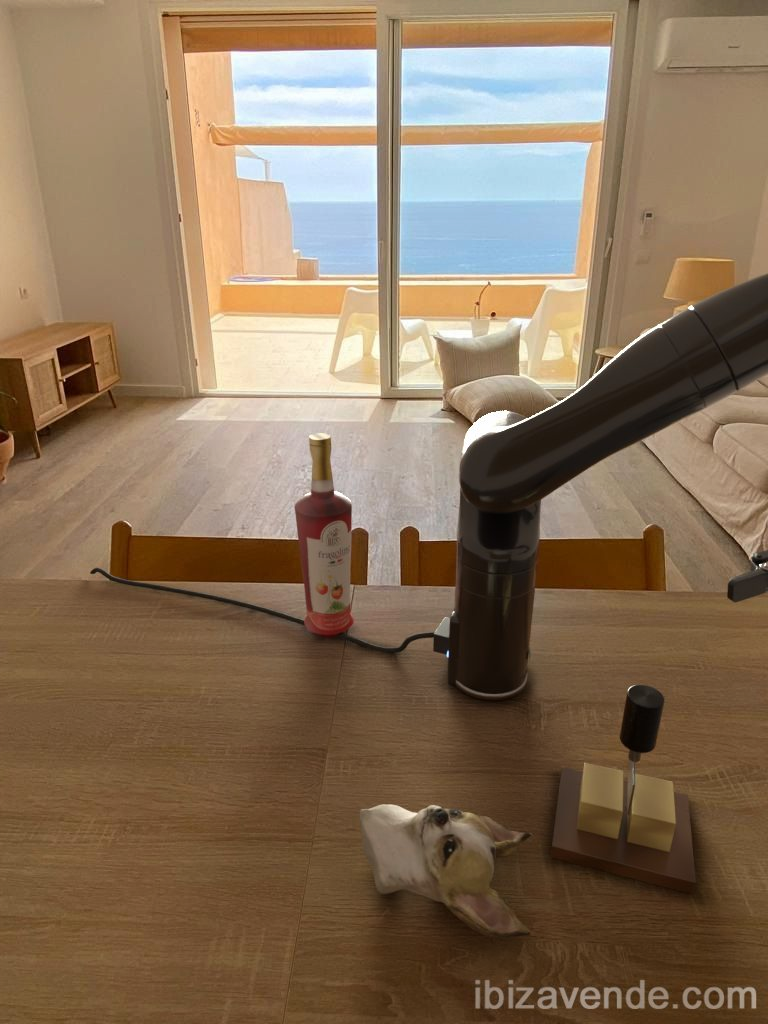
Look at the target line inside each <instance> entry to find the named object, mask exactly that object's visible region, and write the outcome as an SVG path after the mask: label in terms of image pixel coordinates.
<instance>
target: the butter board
mask: <svg viewBox="0 0 768 1024" xmlns="http://www.w3.org/2000/svg"><path fill="white" fill-rule="evenodd" d="M627 789H628V780H624V771H623V770H620V769H615V768H610V767H606V766H601V765H597V764H594V763H593V764H592V763H588V762H584V763H583V769H582V770H578V769H573V768H569V767H565V766H561V772H560V777H559V786H558V794H557V801H556V809H555V817H554V826H553V834H552V841H551V842H552V843H551V850H550V858H551V859H555V860H559V861H562V862H566V863H571V864H574V865H578V866H581V867H585V868H590V869H593V870H597V871H601V872H604V873H609V874H613V875H617V876H621V877H623V878H628V879H631V880H636V881H640V882H644V883H647V884H652V885H654V886H655V885H656V886H659V887H662V888H666V889H670V890H675V891H679V892H681V893H682V892H683V893H685V894H690V895H694V891H695V889H696V888H695V887H696V885H697V881H696V880H697V879H696V870H695V868H696V867H695V858H694V848H693V847H694V846H693V837H692V825H691V815H690V804H689V802H690V801H689V795H688V794H686V793H683V792H677V791H675V789H674V781H670V780H666V779H661V778H657V777H653V776H649V775H643V774H638V773H635V789H634V795H633V800H632V805H631V810H630V815H628V814H627Z"/></svg>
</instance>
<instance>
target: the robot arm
mask: <svg viewBox="0 0 768 1024" xmlns="http://www.w3.org/2000/svg"><path fill="white" fill-rule="evenodd" d="M766 376H768V273H764V274H761V275H758V276H756V277H752V278H750V279H748V280H746V281H743V282H740V283H738V284H735V285H733V286H730V287H727V288H725V289H723V290H720V291H718V292H716V293H714V294H711V295H710V296H708V297H705V298H703V299H701V300H699V301H697V302H695V303H694V304H692V305H690V306H689V307H686V308H685V309H683V310H681V311H679V312H678V313H676V314H674V315H672V316H671V317H670V318H668V319H666V320H664V321H663V322H661V323H659V324H657V325H656V326H654V327H652V328H651V329H649V330H647V331H646V332H645V333H643V334H642V335H640V336H639V337H637V338H636V339H635V340H634V341H632V342H631V343H630V344H628V345H627V346H626V347H625V348H623V349H622V350H621V351H620V352H619V353H617V355H615V356H614V357H613V358H612V359H610V361H609V362H608V363H606V364H605V365H604V366H603V367H602V368H601V369H600V370H599V371H598V372H597V373H595V374H594V376H592V377H591V378H590V379H589V380H588V381H587V382H586V383H585V384H584V385H582V386H581V387H580V388H578V389H577V390H576V391H574V393H571V394H570V395H569V396H567V397H566V398H564V399H563V400H561V401H559V402H557V403H556V404H554V405H553V406H551V407H548V408H546V409H545V410H543V411H540V412H539V413H536V414H535V415H532V416H531V417H529V418H528V417H526V416H524V415H522V414H521V413H517V412H513V411H507V410H504V411H503V410H502V411H501V410H500V411H496V412H491V413H488V414H486V415H484V416H482V417H481V418H479V419H478V420H477V421H476V422H474V423H473V425H472V426H471V427H470V428H469V429H468V431H467V432H466V433H465V436H464V438H463V442H462V444H461V451H460V455H459V461H458V462H459V463H458V484H459V504H458V505H459V506H458V515H457V516H458V517H457V529H456V530H457V531H456V532H457V533H456V556H455V557H456V558H455V559H456V560H455V580H454V581H455V582H454V583H455V584H454V605H453V607H454V608H453V609H452V613H451V615H450V617H447V616H444V618H443V619H442V621H441V622H440V624H439V625H438V626H437V628H436V630H434V631H428V632H427V631H426V632H418V633H414V634H412V635H409V636H407V637H406V638H405V639H404V640H403V641H402V643H401V644H400V645H399V646H394V647H386V646H385V647H384V646H380V645H377V644H373V643H370V642H367V641H365V640H362V639H360V638H358V637H354V636H352V635H349V634H346V633H344V632H343V633H340V634H337V635H335V637H334V638H339V639H342V640H344V641H348V642H350V643H353V644H356V645H358V646H361V647H364V648H366V649H371V650H374V651H379V652H381V653H382V652H383V653H388V654H395V653H397V654H398V653H402V652H403V651H404V650H406V648H407V647H408V645H409V644H410V643H412V642H414V641H416V640H417V641H418V640H421V639H430V638H431V639H433V643H432V644H433V645H432V646H433V647H432V651H433V652H434V653H439V654H443V655H446V657H447V680H446V681H447V682H446V683H447V684H448V685H450V686H454V687H456V688H457V689H458V690H460V691H461V692H462V693H464V694H466V695H467V696H470V697H472V698H475V699H478V700H483V701H505V700H509V699H511V698H514V697H516V696H517V695H519V694H521V693H522V692H523V690H524V689H525V688H526V687H527V683H528V670H529V659H531V635H532V625H533V614H534V603H535V593H536V584H537V583H536V582H537V572H538V561H539V553H540V540H541V536H540V535H541V509H542V506H541V505H542V500H544V498H546V497H547V496H549V495H551V494H552V493H554V492H555V491H557V490H558V489H559V488H561V487H563V486H564V485H566V484H567V483H569V482H570V481H572V480H573V479H575V478H576V477H578V476H580V475H581V474H582V473H584V472H585V471H587V470H589V469H590V468H592V467H593V466H595V465H597V464H598V463H600V462H602V461H604V460H606V459H607V458H609V457H611V456H613V455H615V454H617V453H618V452H621V451H623V450H625V449H627V448H629V447H631V446H633V445H635V444H637V443H639V442H642V441H644V440H645V439H647V438H650V437H651V436H653V435H655V434H658V433H659V432H661V431H664V430H665V429H667V428H668V427H670V426H673V425H674V424H676V423H679V422H680V421H682V420H685V419H686V418H689V417H691V416H693V415H696V414H697V413H699V412H702V411H703V410H706V409H707V408H709V407H711V406H713V405H715V404H716V403H719V402H721V401H722V400H725V399H727V398H728V397H730V396H733V395H734V394H736V393H737V392H740V391H742V390H743V389H745V388H747V387H749V386H750V385H752V384H754V383H755V382H757V381H759V380H761V379H762V378H764V377H766ZM89 573H90V574H91V575H95V574H96V573H99V574H101V575H102V576H103V577H104V578H107V579H108V580H110V581H112V582H114V583H118V584H123V585H126V586H133V587H139V588H146V589H150V590H151V589H153V590H158V591H163V592H169V593H175V594H180V595H187V596H190V597H191V596H192V597H197V598H202V599H207V600H211V601H215V602H216V601H217V602H221V603H226V604H229V605H234V606H237V607H242V608H246V609H249V610H253V611H257V612H260V613H264V614H268V615H271V616H274V617H277V618H280V619H284V620H286V621H290V622H293V623H296V624H298V625H301V626H304V627H306V626H305V624H304V620H305V619H303V618H299V617H296V616H293V615H290V614H288V613H287V614H286V613H284V612H281V611H278V610H274V609H270V608H268V607H264V606H261V605H256V604H252V603H249V602H245V601H240V600H237V599H232V598H228V597H225V596H219V595H214V594H209V593H206V592H205V593H204V592H201V591H200V592H199V591H195V590H189V589H182V588H178V587H177V588H176V587H172V586H167V585H166V586H165V585H160V584H154V583H149V582H141V581H134V580H128V579H124V578H120V577H117V576H114V575H112V574H110V573H109V572H107V571H106V570H105V569H103V568H101V567H94V568H92V569H91V571H90V572H89ZM767 592H768V549H766V550H762V551H758V552H754V553H752V554H751V559H750V570H749V571H747V572H745V573H742V574H738V575H735V576H732V577H731V578H729V581H728V583H727V594H726V597H727V599H728V600H730V601H731V602H733V603H739V602H742V601H746V600H748V599H751V598H754V597H757V596H761V595H764V594H766V593H767Z"/></svg>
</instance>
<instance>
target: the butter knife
mask: <svg viewBox="0 0 768 1024" xmlns="http://www.w3.org/2000/svg"><path fill="white" fill-rule="evenodd" d="M664 706H665V697H664V695H663V693H662V692H661V691H660V690H658V689H657V688H655V687H653V686H650V685H646V684H635V685H632V686H630V687H629V688H628V689H627V691H626V697H625V703H624V707H623V714H622V719H621V725H620V732H619V740H620V742H621V744H622V745H623V746H624V748H626V749H628V756H627V757H628V759H627V781H628V789H627V814H628V815H630V810H631V805H632V800H633V795H634V789H635V774H636V763H639V762H640V761H641V757H642V754H647V753H650V752H652V751H654V749H655V748H656V745H657V739H658V737H659V736H658V735H659V730H660V727H661V721H662V715H663V710H664Z"/></svg>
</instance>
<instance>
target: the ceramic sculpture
mask: <svg viewBox="0 0 768 1024" xmlns="http://www.w3.org/2000/svg"><path fill="white" fill-rule="evenodd" d="M358 819H359V825H360V836H361V844H362V852H363V854H364V856H365V857H366V860H367V862H368V863H369V865H370V867H371V870H372V873H373V878H374V883H375V887H376V890H377V892H378V893H380V894H381V895H388V894H392V893H395V892H397V891H408V892H411V893H413V894H416V895H419V896H423V897H426V898H429V899H431V900H433V901H435V902H439V903H443V904H444V906H445V907H446V908H447V910H449V911H450V912H451V913H452V914H453V915H454V916H455V917H456V918H458V919H459V920H460V921H461V922H463V923H464V924H465V925H466V926H467V927H468V928H470V929H472V930H474V931H476V932H477V933H480V934H482V935H485V936H488V937H489V936H490V937H496V938H506V939H507V938H515V937H524V936H525V937H526V936H530V935H531V934H532V931H531V930H530V929H529V928H528V927H527V926H526V925H524V923H522V922H521V921H520V919H519V918H518V916H517V915H516V914H515V912H514V911H513V910H512V908H511V906H510V904H509V903H508V901H507V900H506V898H504V897H503V896H502V895H501V894H500V893H499V892H498V891H496V890H495V889H493V888H491V887H490V885H491V882H492V880H493V878H494V874H495V871H496V859H502V858H507V857H508V856H509V855H511V854H512V853H514V852H515V851H516V850H517V849H518V848H520V847H521V846H522V845H524V844H525V843H527V842H528V841H530V840H531V839H532V837H533V834H532V832H527V831H523V830H520V831H517V830H514V829H511V828H509V827H507V826H505V825H504V824H502V823H500V822H496V821H495V820H494V819H492V818H490V817H488V816H486V815H479V814H476V813H473V812H467V811H466V812H465V811H462V810H460V809H456V808H442V807H441V806H439V805H437V804H430V805H428V807H426V808H422V809H420V810H419V811H418V812H414V811H411V810H407V809H406V808H403V807H401V806H399V805H396V804H390V803H389V804H385V803H383V804H379V805H376V806H373V807H371V808H362V809H360V811H359V817H358Z"/></svg>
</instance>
